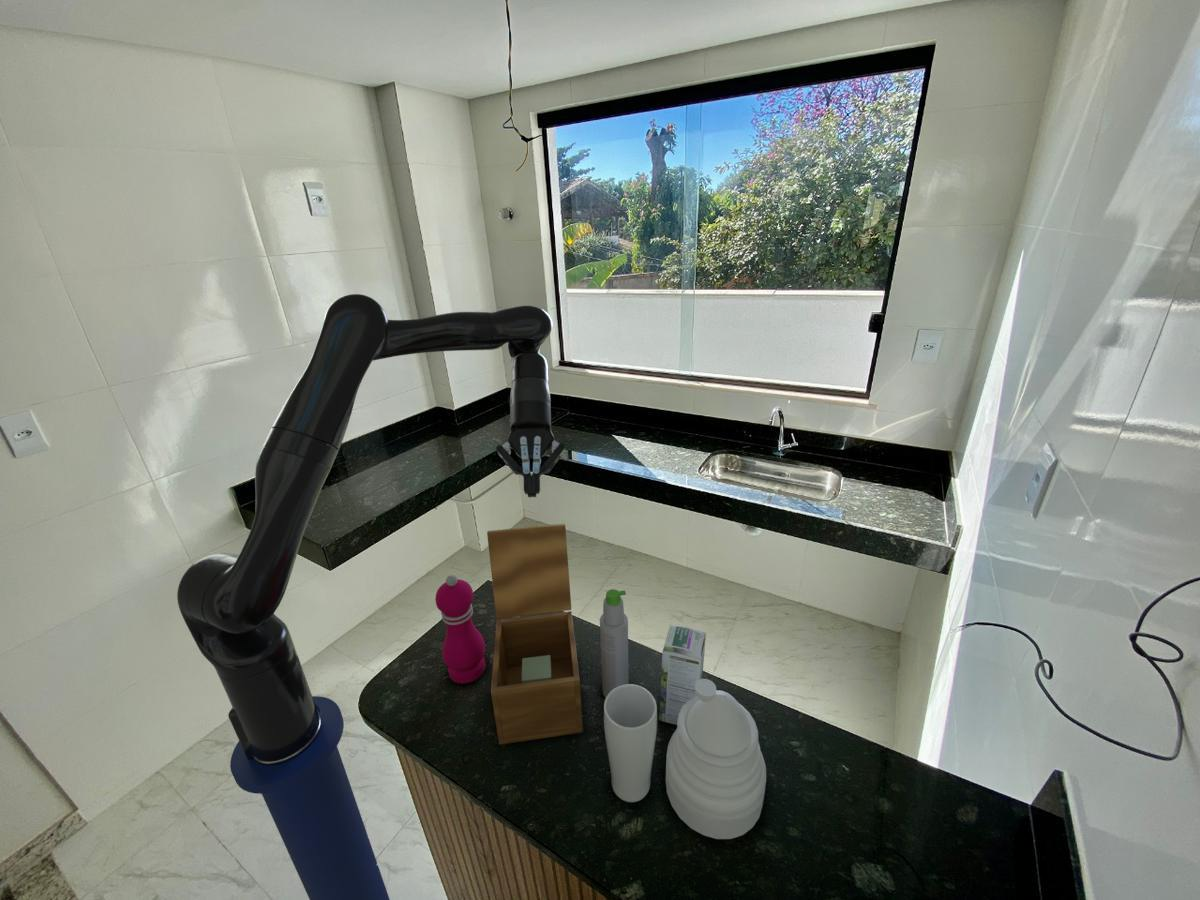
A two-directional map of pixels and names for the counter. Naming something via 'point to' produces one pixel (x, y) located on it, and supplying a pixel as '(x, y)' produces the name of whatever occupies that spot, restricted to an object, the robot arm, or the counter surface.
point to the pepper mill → (460, 631)
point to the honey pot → (715, 765)
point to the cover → (529, 570)
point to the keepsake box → (541, 702)
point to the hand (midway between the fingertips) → (531, 496)
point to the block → (536, 669)
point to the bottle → (614, 642)
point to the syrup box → (680, 670)
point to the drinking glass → (630, 739)
